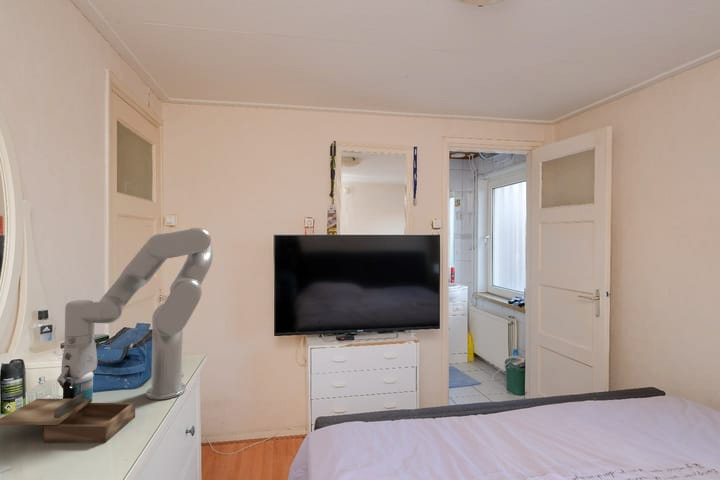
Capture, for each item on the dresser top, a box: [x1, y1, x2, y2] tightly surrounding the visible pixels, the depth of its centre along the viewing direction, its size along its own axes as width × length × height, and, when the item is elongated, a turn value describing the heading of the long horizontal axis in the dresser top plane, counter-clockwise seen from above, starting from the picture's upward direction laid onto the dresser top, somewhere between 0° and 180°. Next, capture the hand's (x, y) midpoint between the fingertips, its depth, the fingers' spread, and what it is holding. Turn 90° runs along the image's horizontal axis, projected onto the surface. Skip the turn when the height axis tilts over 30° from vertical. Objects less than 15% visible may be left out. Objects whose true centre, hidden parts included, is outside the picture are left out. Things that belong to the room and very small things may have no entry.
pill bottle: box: [68, 372, 94, 403], centre depth 118 cm, size 8×7×14 cm
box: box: [43, 402, 136, 444], centre depth 105 cm, size 14×16×4 cm
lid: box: [0, 394, 93, 426], centre depth 105 cm, size 14×16×3 cm
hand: (78, 394), depth 118 cm, fingers closed on pill bottle, 7 cm apart
